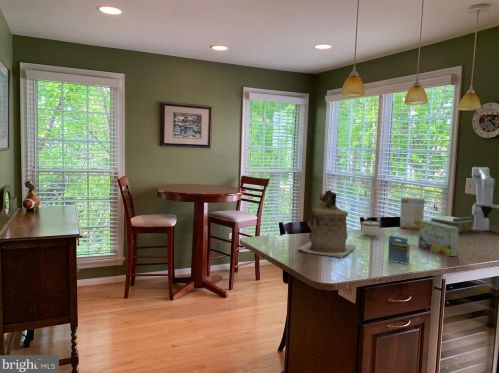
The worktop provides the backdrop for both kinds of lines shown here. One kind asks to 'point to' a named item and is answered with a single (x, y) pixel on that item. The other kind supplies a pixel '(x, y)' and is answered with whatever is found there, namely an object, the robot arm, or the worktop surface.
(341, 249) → the cookie jar
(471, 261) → the worktop surface
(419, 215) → the cracker box
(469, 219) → the lid
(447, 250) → the snack box
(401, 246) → the label tape box
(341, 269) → the worktop surface
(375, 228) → the lidded jar
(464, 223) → the crate
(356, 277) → the worktop surface
